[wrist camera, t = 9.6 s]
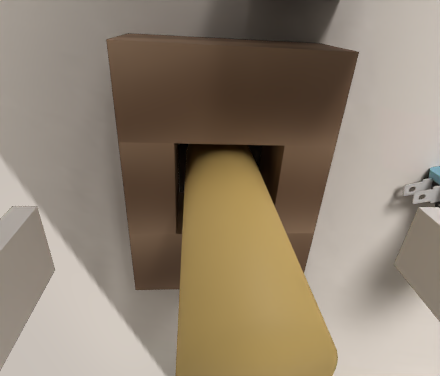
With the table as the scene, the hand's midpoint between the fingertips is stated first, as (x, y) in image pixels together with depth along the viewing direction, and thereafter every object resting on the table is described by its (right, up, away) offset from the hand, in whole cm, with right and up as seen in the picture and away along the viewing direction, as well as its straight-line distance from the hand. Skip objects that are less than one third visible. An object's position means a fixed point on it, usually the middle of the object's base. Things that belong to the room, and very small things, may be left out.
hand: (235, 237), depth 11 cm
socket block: (-1, +3, +6) cm, 7 cm away
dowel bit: (-1, +3, +6) cm, 7 cm away
